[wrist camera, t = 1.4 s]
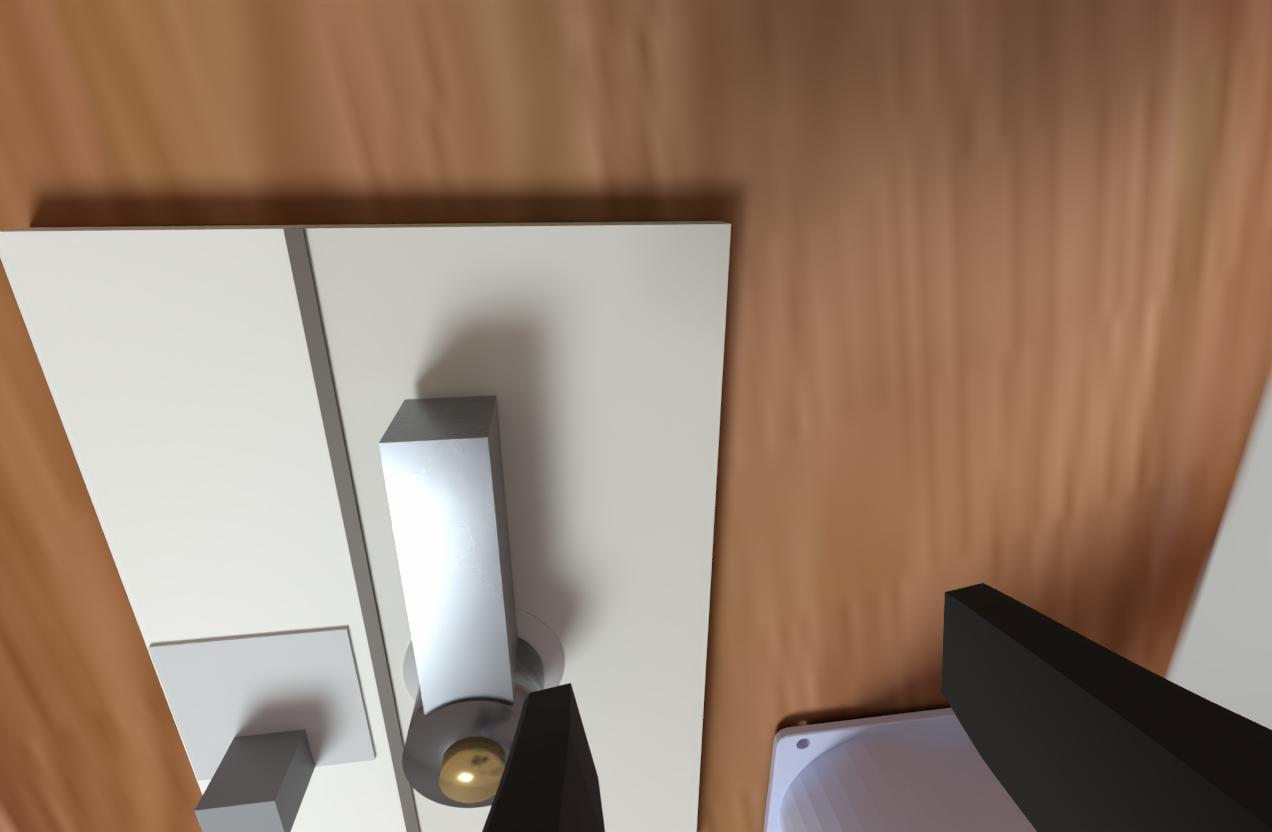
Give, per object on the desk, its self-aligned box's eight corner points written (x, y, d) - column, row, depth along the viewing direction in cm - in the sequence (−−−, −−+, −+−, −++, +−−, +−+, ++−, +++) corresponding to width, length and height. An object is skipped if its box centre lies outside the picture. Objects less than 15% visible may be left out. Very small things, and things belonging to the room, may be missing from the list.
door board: (720, 220, 16) (763, 233, 13) (688, 841, 25) (709, 938, 22) (27, 227, 14) (-123, 245, 11) (266, 902, 23) (222, 1018, 20)
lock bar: (547, 715, 19) (547, 819, 16) (430, 728, 19) (407, 838, 16) (525, 394, 15) (520, 451, 12) (374, 401, 15) (330, 462, 12)
